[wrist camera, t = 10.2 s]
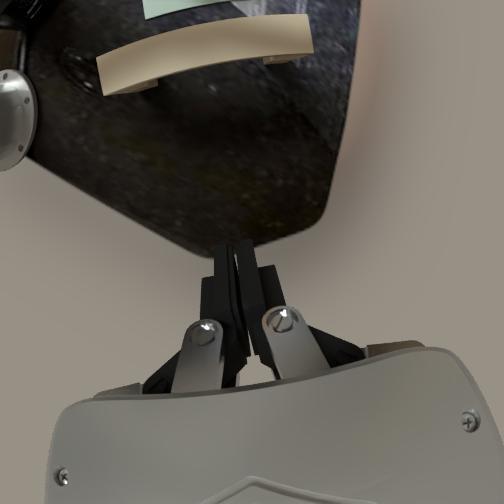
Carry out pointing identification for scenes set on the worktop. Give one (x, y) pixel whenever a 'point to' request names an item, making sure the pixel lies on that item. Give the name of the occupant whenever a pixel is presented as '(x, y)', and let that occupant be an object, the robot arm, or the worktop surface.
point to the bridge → (204, 49)
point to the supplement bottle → (25, 13)
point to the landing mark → (171, 6)
